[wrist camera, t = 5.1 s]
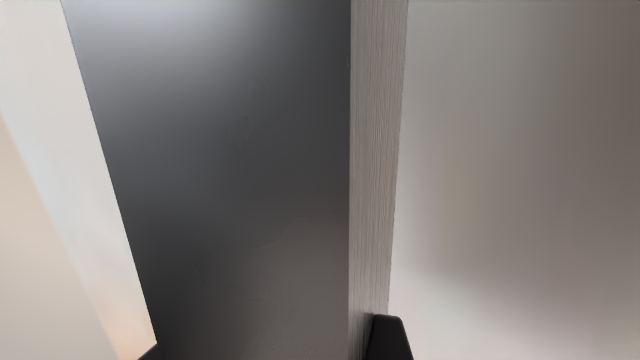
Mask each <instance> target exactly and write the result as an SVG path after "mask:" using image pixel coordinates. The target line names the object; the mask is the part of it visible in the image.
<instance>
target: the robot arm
mask: <svg viewBox="0 0 640 360" xmlns="http://www.w3.org/2000/svg"><path fill="white" fill-rule="evenodd" d="M138 360H162V358H161V355H160V351H159V348H158V344H155V345H154V346H153V347H152V348H151V349H150V350H148V351H147V352H146V353H145V354H144V355H143V356H141V357H140V358H139V359H138ZM365 360H414V359H413V355H412V352H411V349H410V345H409V342H408V339H407V336H406V332H405V329H404V326H403V323H402V320H401V319H400V318H399V317H397V316H391V315H384V314H375V315H374V318H373V323H372V328H371V333H370V338H369V342H368V347H367V352H366V357H365Z"/></svg>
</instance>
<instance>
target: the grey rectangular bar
mask: <svg viewBox="0 0 640 360" xmlns="http://www.w3.org/2000/svg"><path fill="white" fill-rule="evenodd" d="M60 1H61V5H62V8H63V12H64V15H65V19H66V23H67V26H68V30H69V33H70V37H71V40H72V44H73V47H74V51H75V54H76V58H77V61H78V65H79V68H80V72H81V76H82V79H83V83H84V86H85V90H86V93H87V97H88V100H89V104H90V107H91V111H92V114H93V118H94V121H95V125H96V129H97V132H98V136H99V139H100V143H101V146H102V150H103V153H104V157H105V160H106V164H107V167H108V171H109V175H110V178H111V182H112V185H113V189H114V192H115V196H116V199H117V203H118V206H119V210H120V213H121V217H122V220H123V224H124V228H125V231H126V235H127V238H128V242H129V245H130V249H131V252H132V256H133V259H134V263H135V266H136V270H137V273H138V277H139V281H140V284H141V288H142V291H143V295H144V298H145V302H146V305H147V309H148V312H149V316H150V319H151V323H152V326H153V330H154V334H155V337H156V341H157V344H158V348H159V351H160V355H161V358H162V360H365V357H366V352H367V347H368V342H369V338H370V333H371V328H372V323H373V318H374V315H375V314H384V315H388V302H389V287H390V272H391V257H392V242H393V226H394V211H395V196H396V181H397V166H398V151H399V136H400V120H401V105H402V90H403V75H404V60H405V45H406V30H407V14H408V0H60Z"/></svg>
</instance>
